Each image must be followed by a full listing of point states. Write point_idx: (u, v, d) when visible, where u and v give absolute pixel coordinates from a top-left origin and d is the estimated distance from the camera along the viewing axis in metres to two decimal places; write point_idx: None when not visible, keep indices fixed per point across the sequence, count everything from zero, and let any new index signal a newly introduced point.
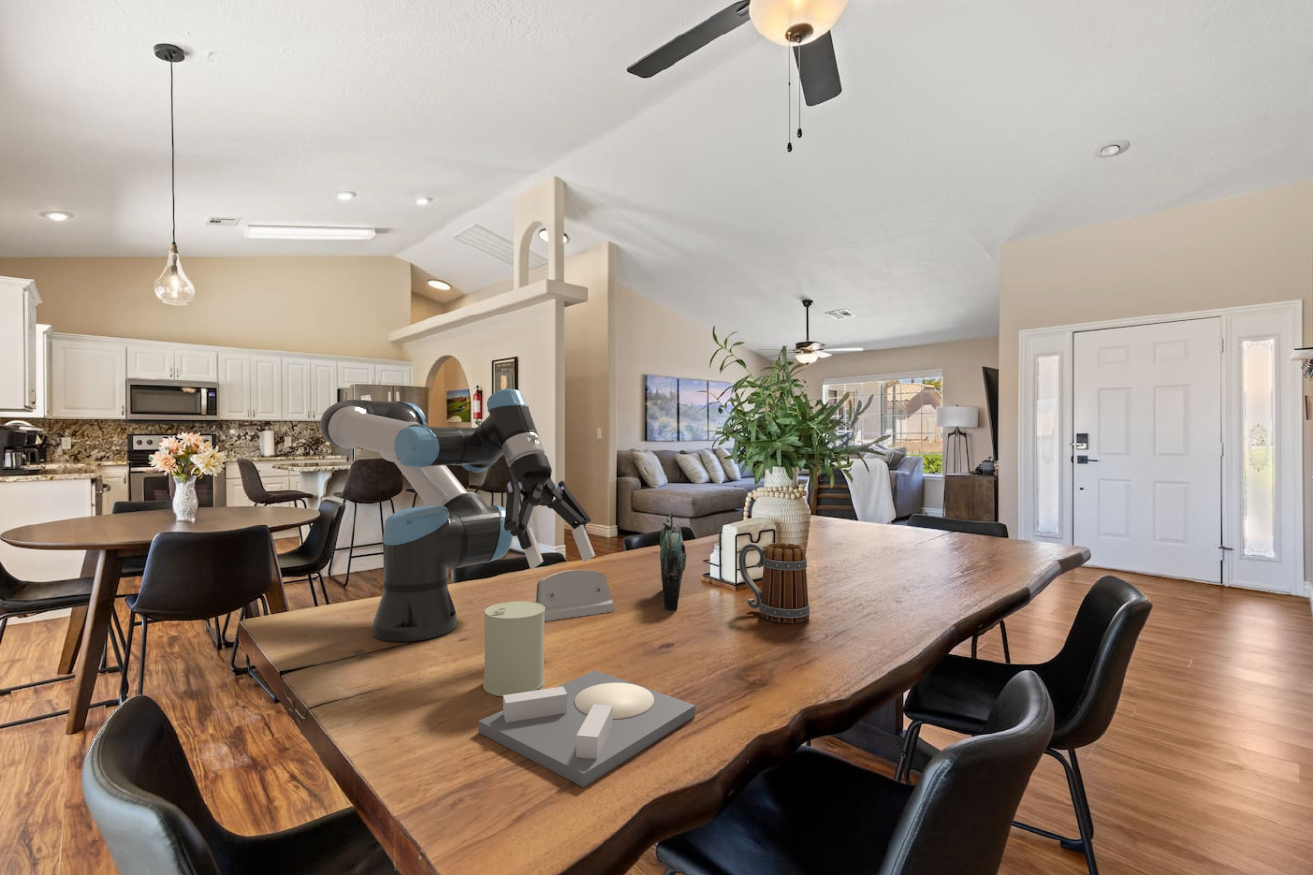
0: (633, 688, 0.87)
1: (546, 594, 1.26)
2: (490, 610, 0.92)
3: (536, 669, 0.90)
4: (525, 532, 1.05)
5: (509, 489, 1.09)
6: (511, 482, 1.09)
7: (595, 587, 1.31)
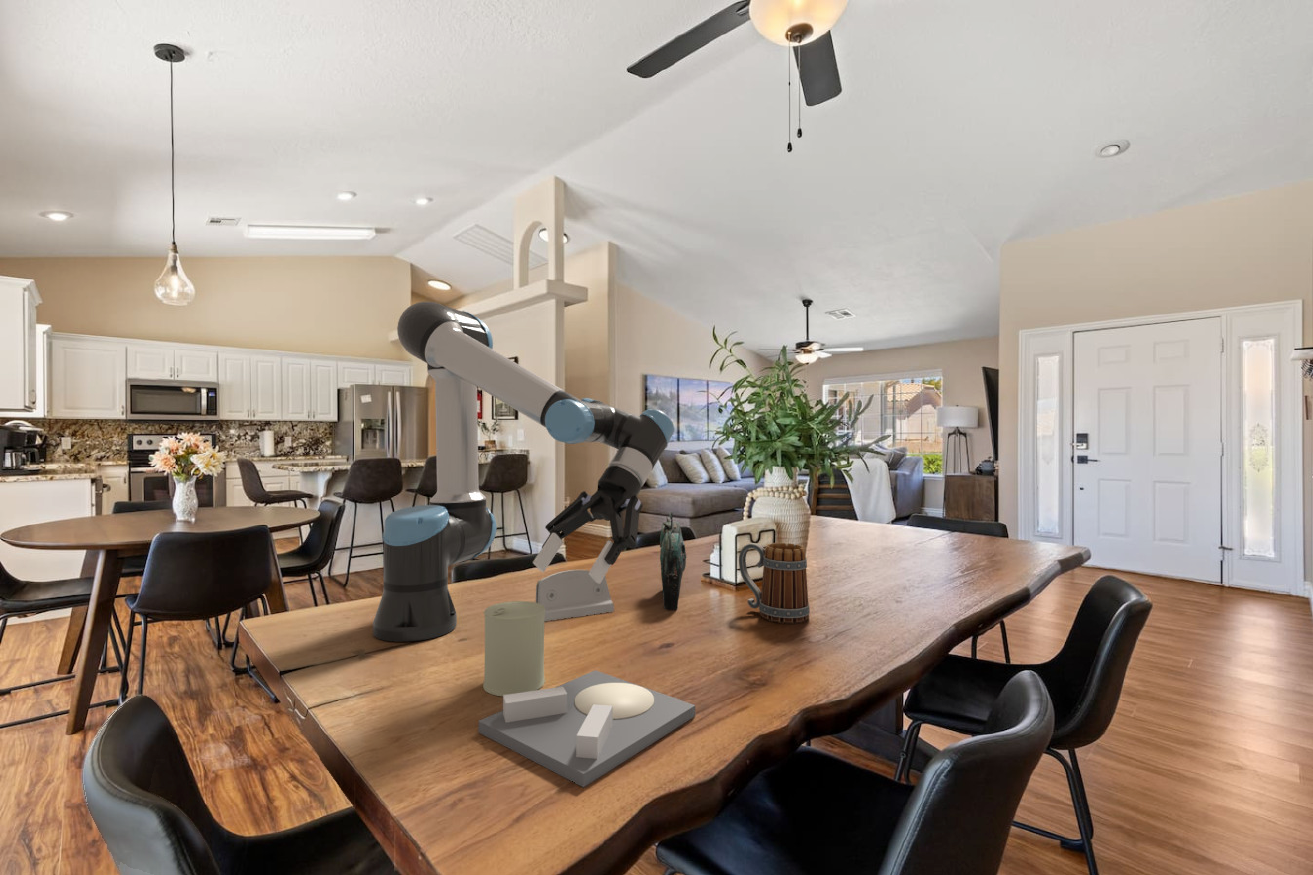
0: (633, 688, 0.87)
1: (546, 594, 1.26)
2: (490, 610, 0.92)
3: (536, 669, 0.90)
4: None
5: (636, 505, 1.04)
6: (641, 504, 1.06)
7: (595, 587, 1.31)
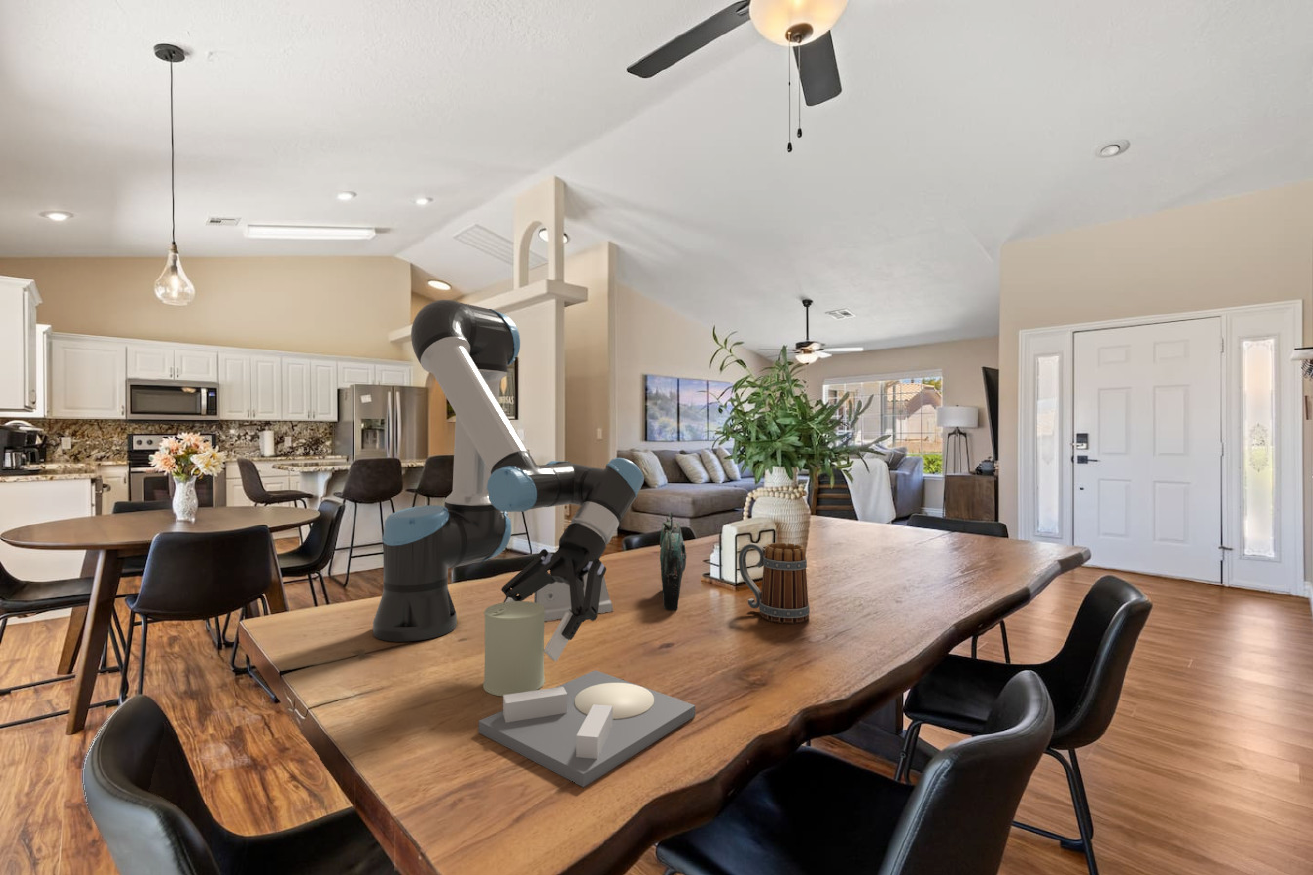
0: (633, 688, 0.87)
1: (544, 594, 1.26)
2: (490, 610, 0.92)
3: (536, 669, 0.90)
4: None
5: (599, 570, 0.96)
6: (604, 568, 0.97)
7: None
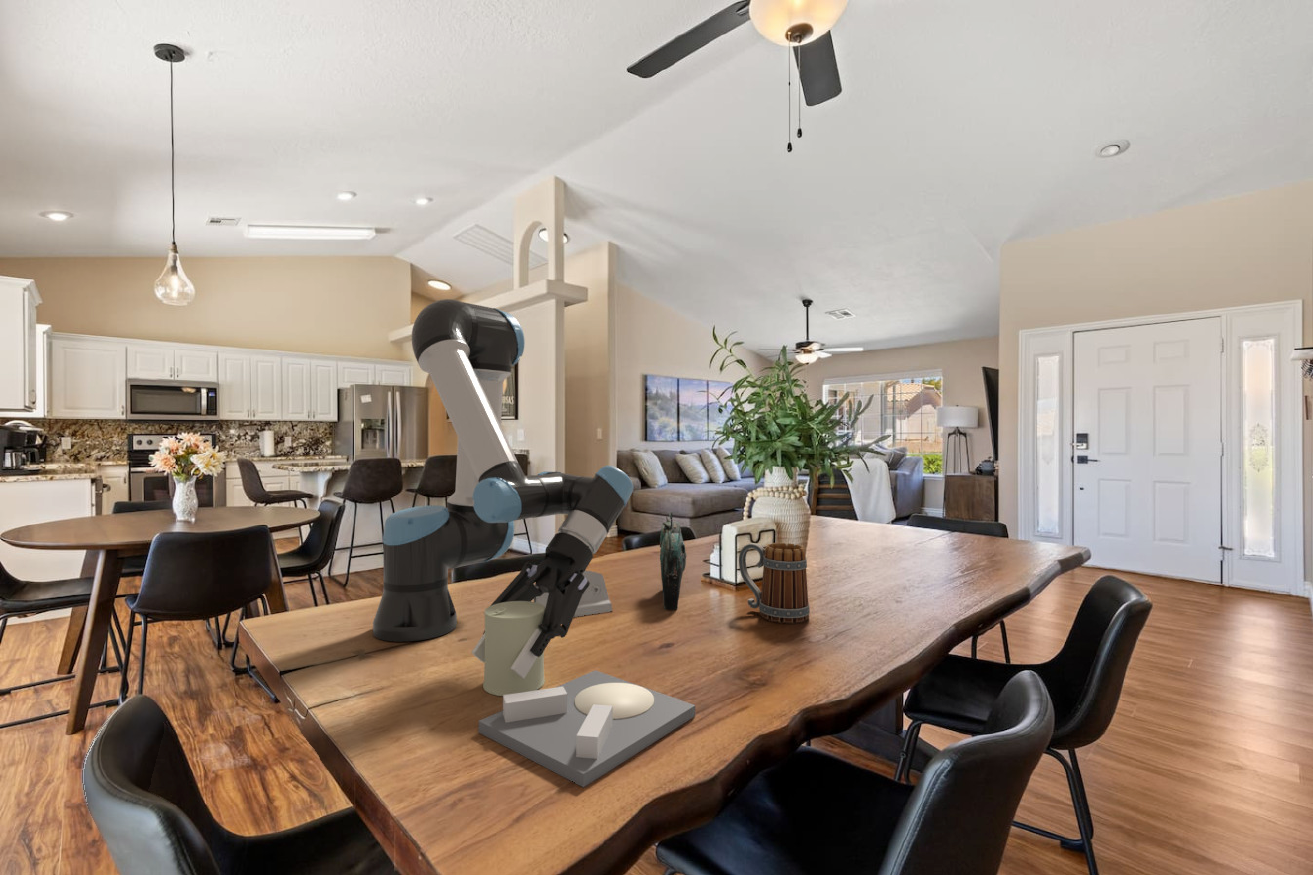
0: (633, 688, 0.87)
1: (544, 594, 1.26)
2: (490, 610, 0.92)
3: (536, 669, 0.90)
4: None
5: (580, 585, 0.94)
6: (587, 584, 0.95)
7: (593, 587, 1.31)
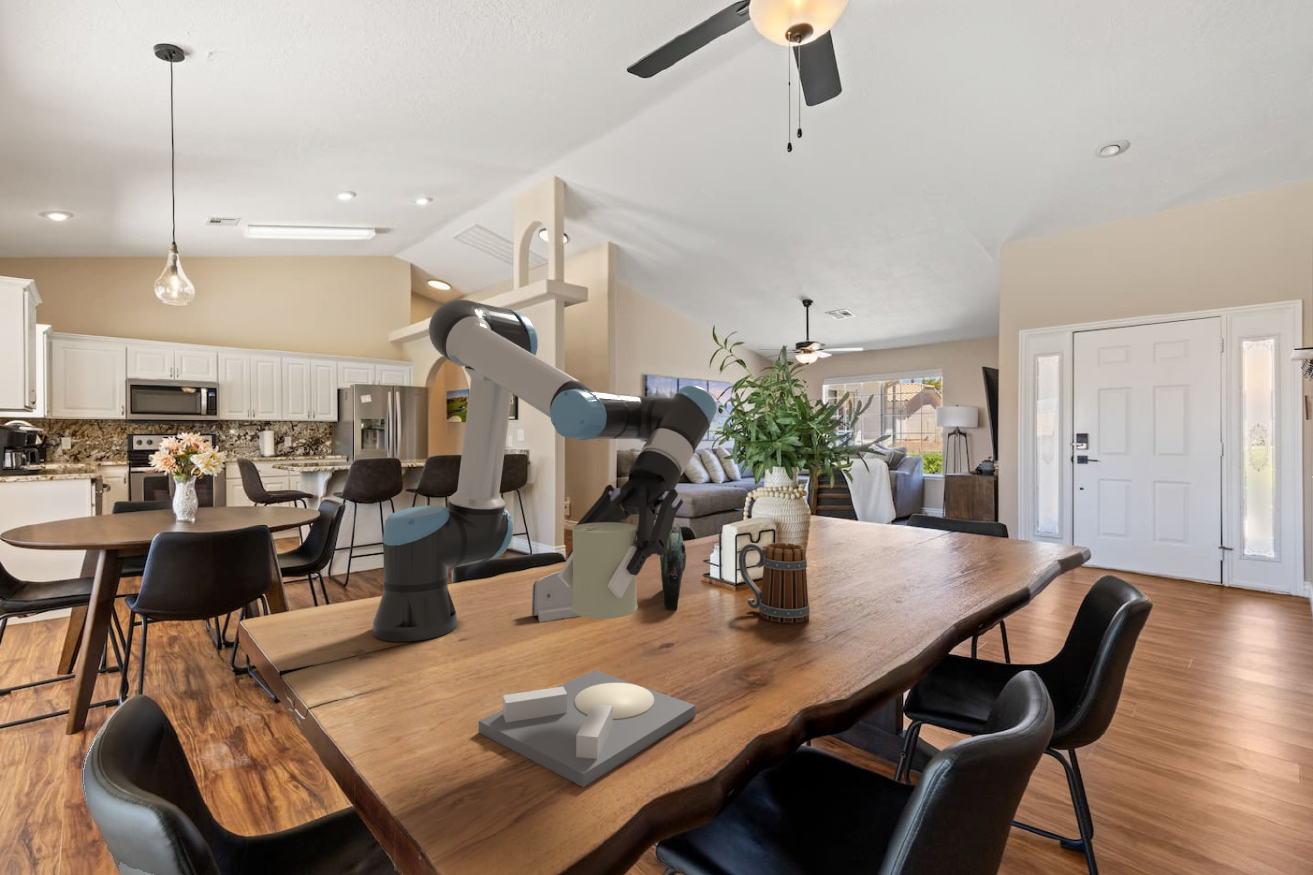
0: (633, 688, 0.87)
1: (543, 594, 1.26)
2: (578, 528, 0.84)
3: (630, 590, 0.82)
4: None
5: (674, 502, 0.86)
6: (680, 501, 0.87)
7: None
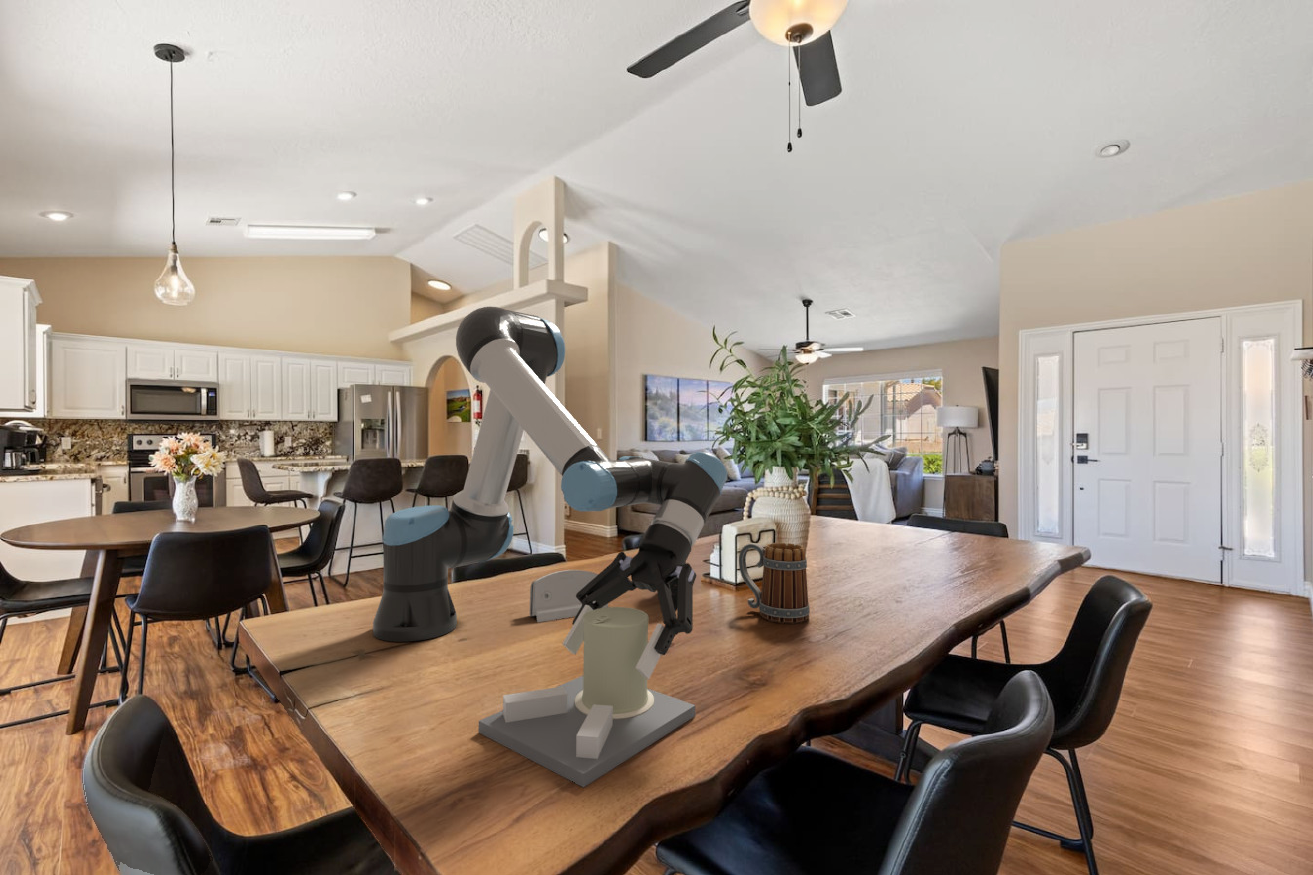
0: None
1: (541, 595, 1.26)
2: (589, 617, 0.83)
3: (642, 682, 0.82)
4: None
5: (690, 576, 0.86)
6: (694, 574, 0.87)
7: None
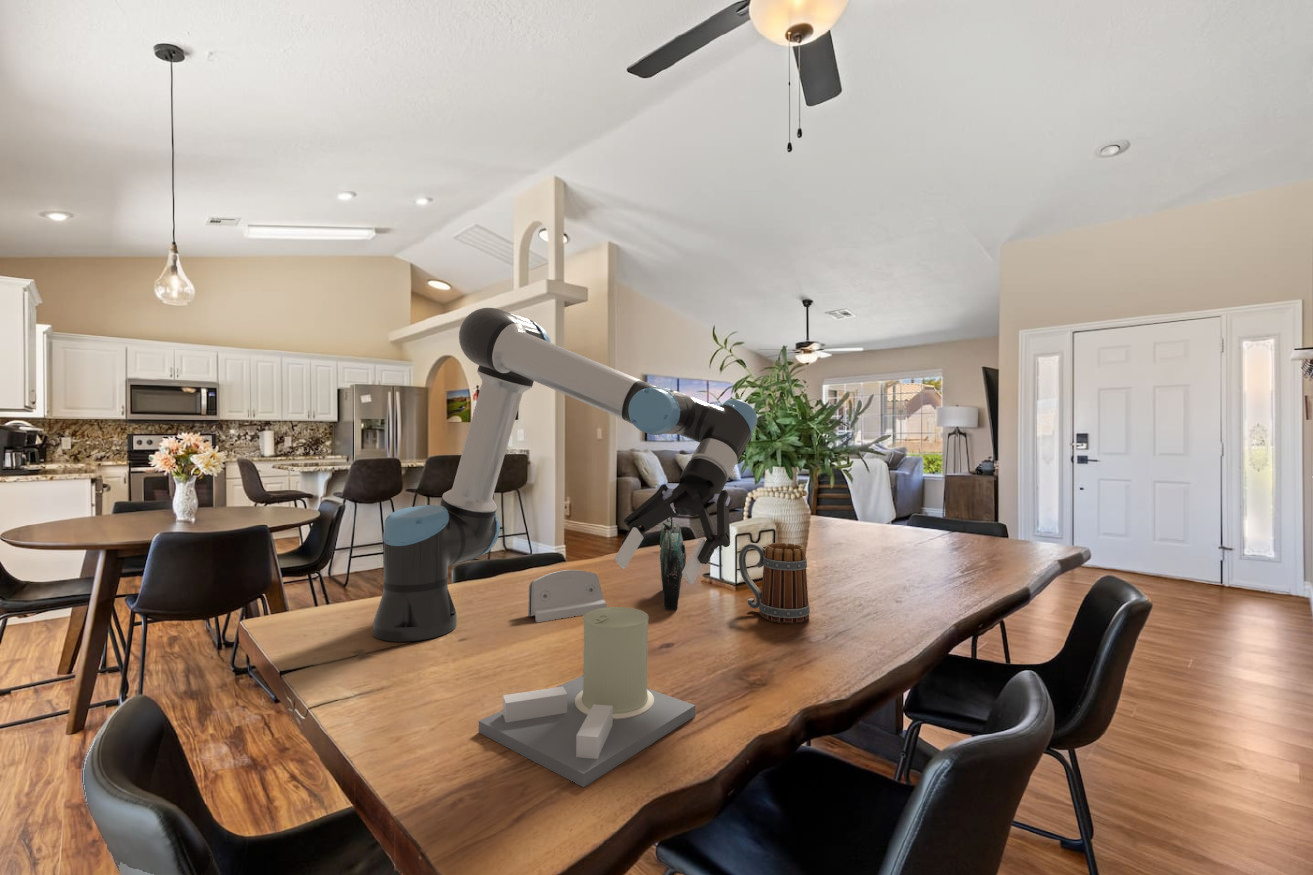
0: None
1: (539, 595, 1.26)
2: (589, 617, 0.83)
3: (642, 682, 0.82)
4: None
5: (727, 501, 0.98)
6: (730, 500, 0.99)
7: (588, 587, 1.31)
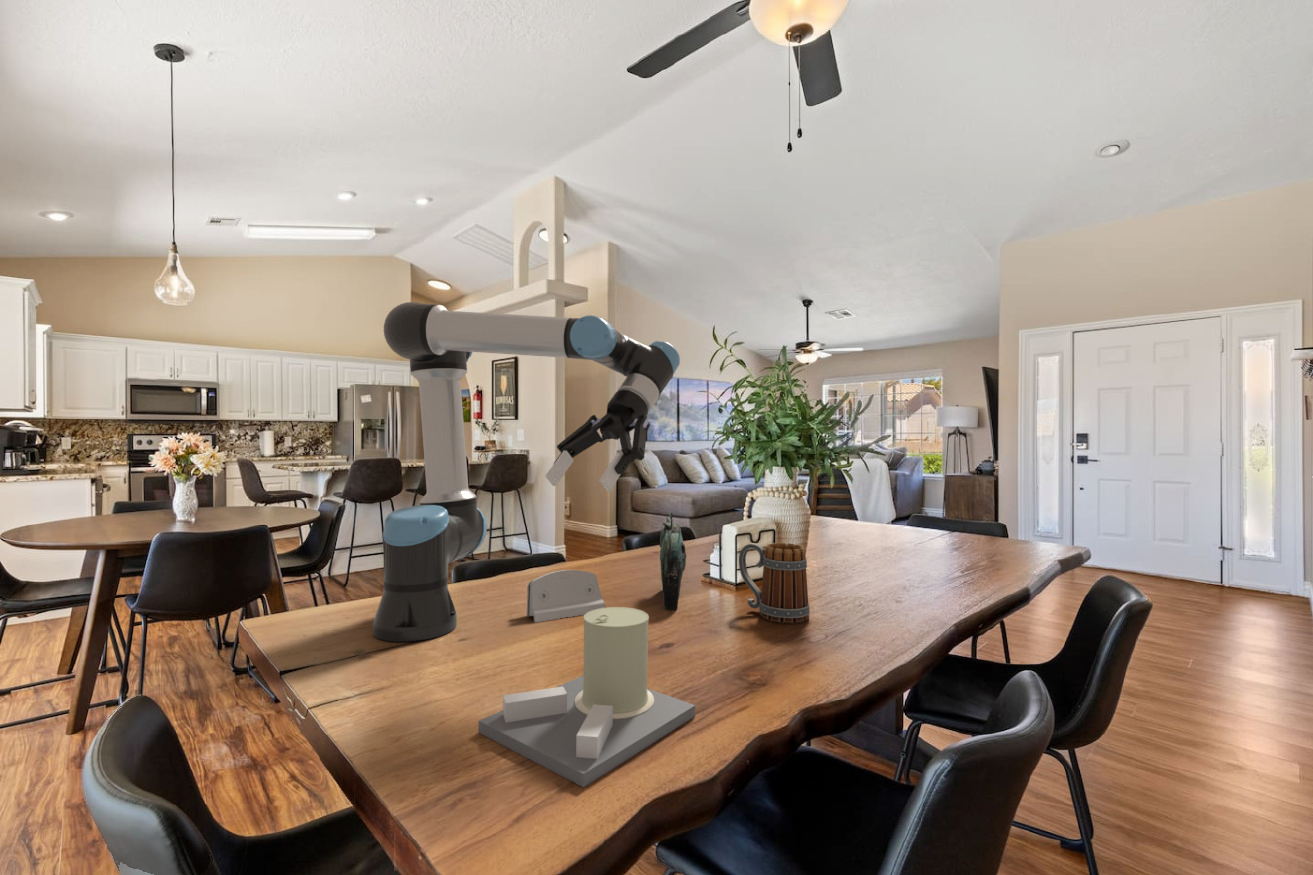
0: None
1: (538, 595, 1.26)
2: (589, 617, 0.83)
3: (642, 682, 0.82)
4: None
5: (644, 424, 1.10)
6: (648, 424, 1.12)
7: (586, 587, 1.31)
